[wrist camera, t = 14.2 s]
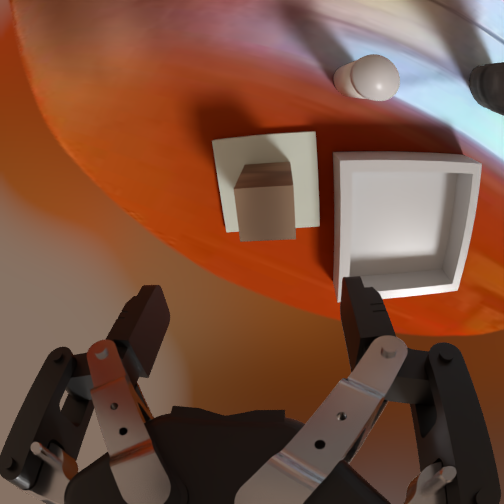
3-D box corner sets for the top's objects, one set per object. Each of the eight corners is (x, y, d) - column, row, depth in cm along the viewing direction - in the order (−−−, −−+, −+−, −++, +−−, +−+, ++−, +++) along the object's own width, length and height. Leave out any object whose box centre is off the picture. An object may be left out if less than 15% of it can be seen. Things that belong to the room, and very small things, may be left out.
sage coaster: (227, 229, 31) (226, 232, 30) (213, 139, 26) (211, 140, 26) (319, 223, 29) (319, 226, 29) (314, 130, 25) (315, 131, 24)
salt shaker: (333, 97, 23) (354, 99, 16) (331, 63, 22) (351, 52, 15) (367, 98, 23) (400, 102, 16) (366, 65, 21) (398, 57, 14)
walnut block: (249, 206, 28) (240, 241, 22) (244, 164, 26) (233, 188, 20) (292, 204, 28) (295, 239, 22) (290, 161, 26) (293, 185, 20)
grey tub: (333, 282, 33) (337, 302, 30) (332, 152, 26) (339, 160, 23) (445, 272, 31) (457, 290, 28) (463, 154, 24) (481, 163, 21)
